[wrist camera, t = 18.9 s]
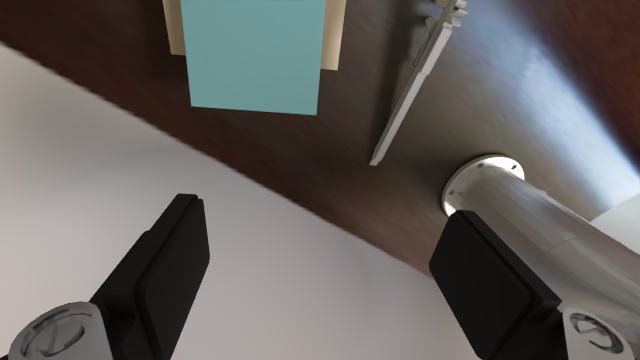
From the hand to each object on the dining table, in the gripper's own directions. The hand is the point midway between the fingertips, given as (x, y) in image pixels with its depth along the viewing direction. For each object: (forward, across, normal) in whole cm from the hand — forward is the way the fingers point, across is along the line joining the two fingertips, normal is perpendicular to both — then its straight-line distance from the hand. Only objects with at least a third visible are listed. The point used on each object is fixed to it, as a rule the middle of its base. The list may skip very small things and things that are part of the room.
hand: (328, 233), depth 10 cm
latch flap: (+20, +6, -5) cm, 21 cm away
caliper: (+26, -11, -2) cm, 28 cm away
